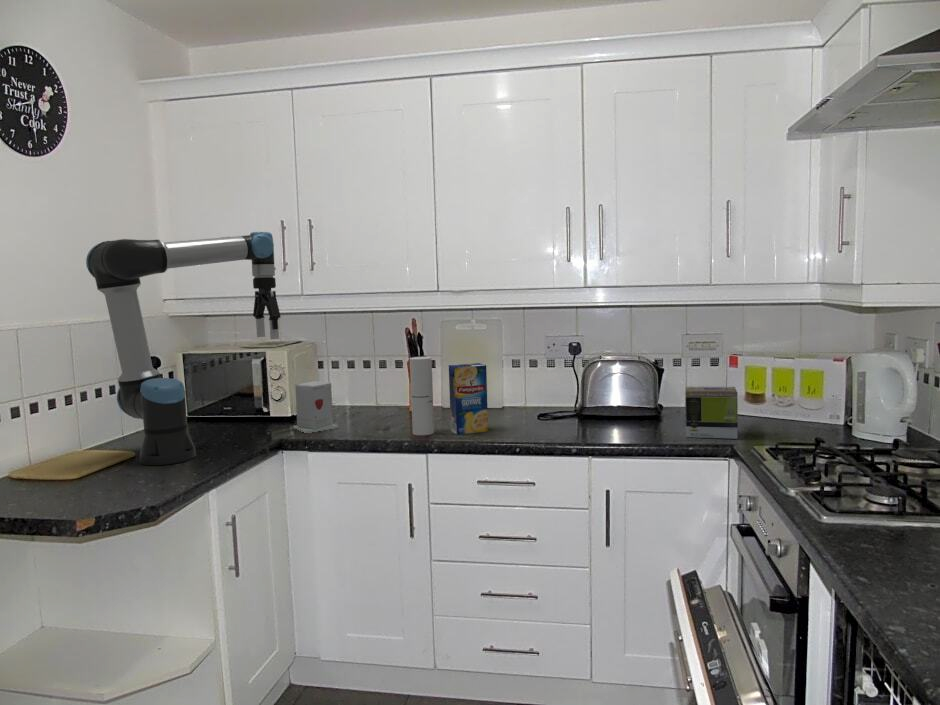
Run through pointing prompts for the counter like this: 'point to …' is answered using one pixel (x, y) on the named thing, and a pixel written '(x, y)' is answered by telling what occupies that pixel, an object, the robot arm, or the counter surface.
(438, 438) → the counter surface
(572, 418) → the counter surface
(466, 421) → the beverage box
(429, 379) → the cylindrical container
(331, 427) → the pad
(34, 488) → the counter surface
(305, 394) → the supplement box
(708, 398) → the tea box
